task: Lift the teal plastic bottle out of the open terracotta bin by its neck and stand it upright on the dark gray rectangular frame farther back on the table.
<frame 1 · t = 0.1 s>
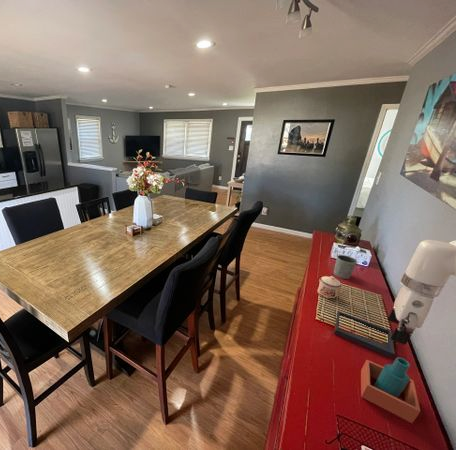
hand: (395, 331, 72), 29 cm above the sideboard, tool pointing down, fingers open, 9 cm apart
teacup with lid: (329, 295, 133), on the sideboard
bin: (383, 394, 83), on the sideboard
grey cup: (340, 275, 153), on the sideboard
bottle: (393, 378, 80), in the bin
dark gray rectangular frame: (361, 334, 108), on the sideboard
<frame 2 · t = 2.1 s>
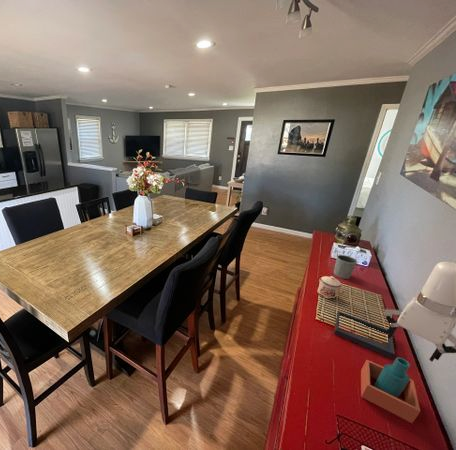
hand: (410, 346, 75), 22 cm above the sideboard, tool pointing down, fingers open, 9 cm apart
nothing on the sideboard moved.
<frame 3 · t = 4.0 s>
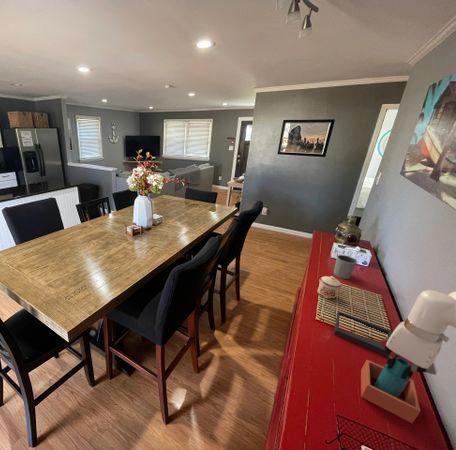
hand: (397, 371, 79), 12 cm above the sideboard, tool pointing down, fingers closed on bottle, 3 cm apart
bottle: (393, 378, 80), in the bin, touching gripper
everything else where it was.
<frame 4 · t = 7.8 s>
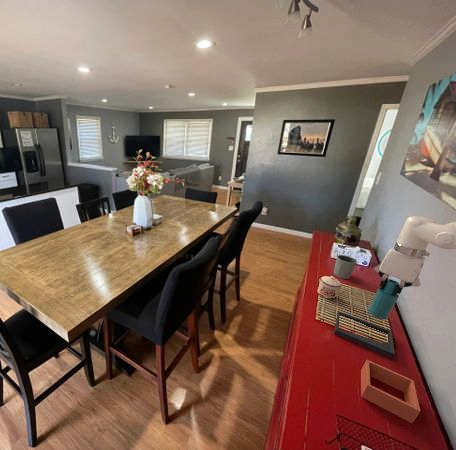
hand: (388, 290, 94), 27 cm above the sideboard, tool pointing down, fingers closed on bottle, 3 cm apart
bottle: (385, 298, 95), point 24 cm above the sideboard, touching gripper
everything else where it was.
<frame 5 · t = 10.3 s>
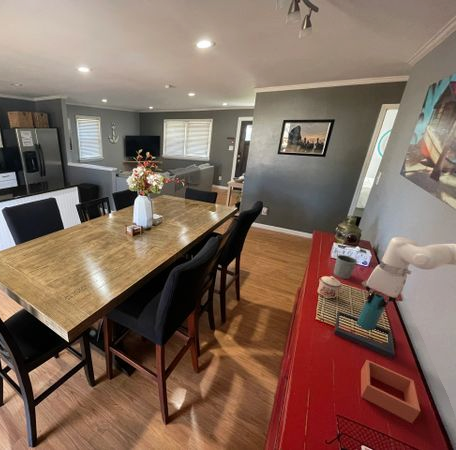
hand: (375, 304, 101), 17 cm above the sideboard, tool pointing down, fingers closed on bottle, 3 cm apart
bottle: (372, 311, 103), point 13 cm above the sideboard, touching gripper
everything else where it was.
when the fingers open (12 cm above the sideboard, at t = 11.8 s): bottle stays where it is, resting on dark gray rectangular frame.
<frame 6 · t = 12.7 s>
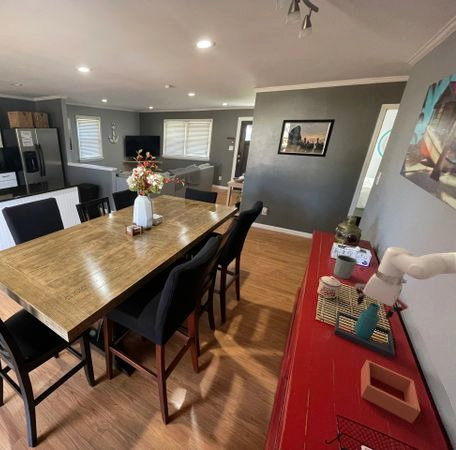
hand: (372, 310, 102), 14 cm above the sideboard, tool pointing down, fingers open, 9 cm apart
bottle: (368, 319, 104), in the dark gray rectangular frame, point 9 cm above the sideboard
everything else where it was.
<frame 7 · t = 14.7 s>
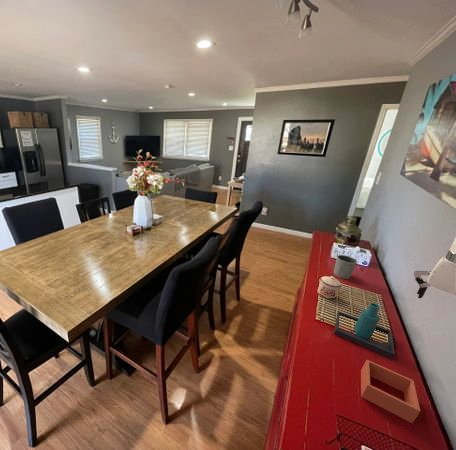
hand: (440, 305, 79), 32 cm above the sideboard, tool pointing down, fingers open, 9 cm apart
nothing on the sideboard moved.
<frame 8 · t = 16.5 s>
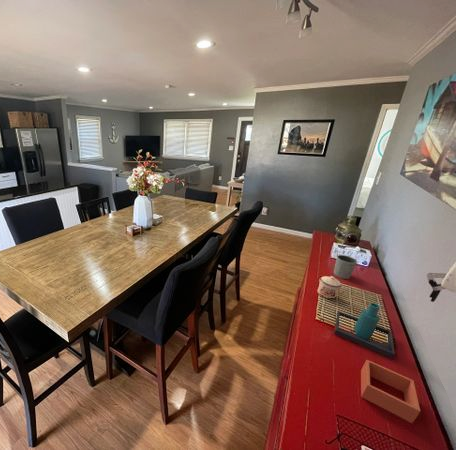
hand: (454, 309, 76), 33 cm above the sideboard, tool pointing down, fingers open, 9 cm apart
nothing on the sideboard moved.
at the end: bottle inside the target area in the dark gray rectangular frame (0.0 cm from its centre), point 8.6 cm above the dark gray rectangular frame's base; bottle tilted 0°; the gripper is holding nothing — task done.
